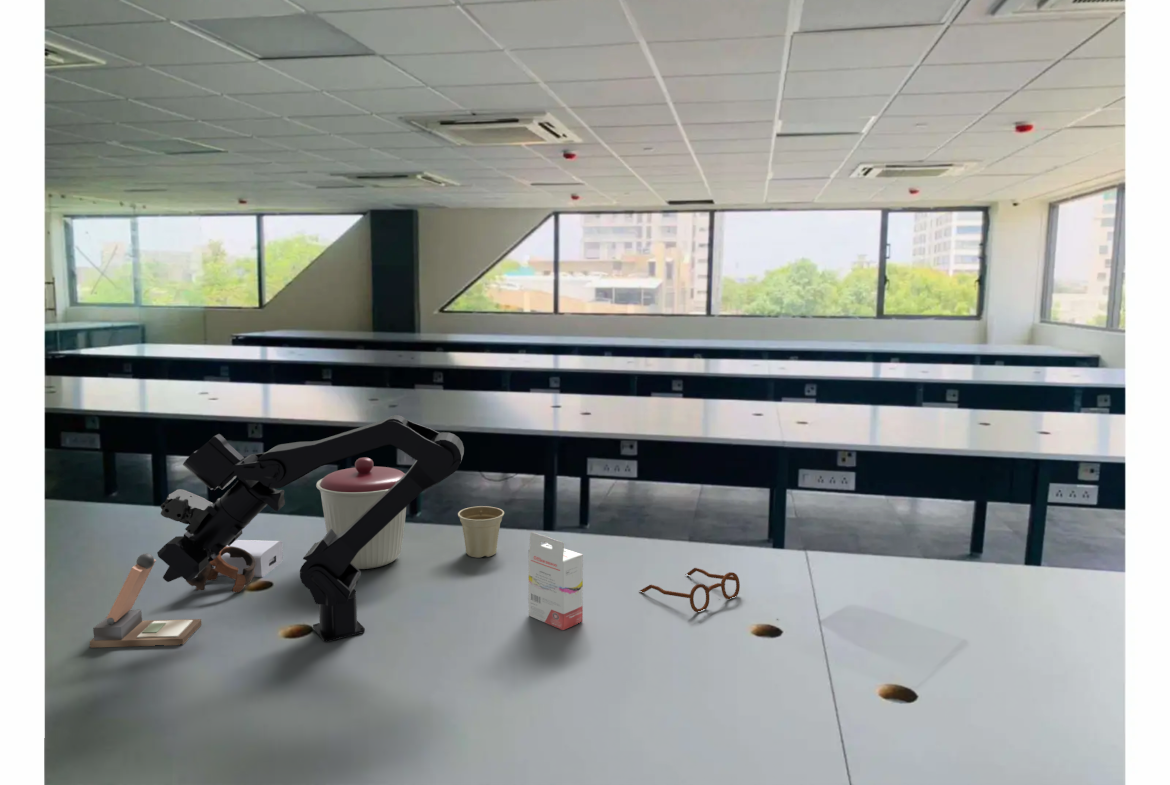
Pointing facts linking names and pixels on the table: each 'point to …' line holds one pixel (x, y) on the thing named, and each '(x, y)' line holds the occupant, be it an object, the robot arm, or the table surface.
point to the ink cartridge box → (555, 582)
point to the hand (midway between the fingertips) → (166, 579)
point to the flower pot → (481, 529)
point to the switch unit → (142, 631)
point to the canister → (362, 508)
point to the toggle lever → (131, 588)
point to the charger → (256, 556)
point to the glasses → (707, 589)
